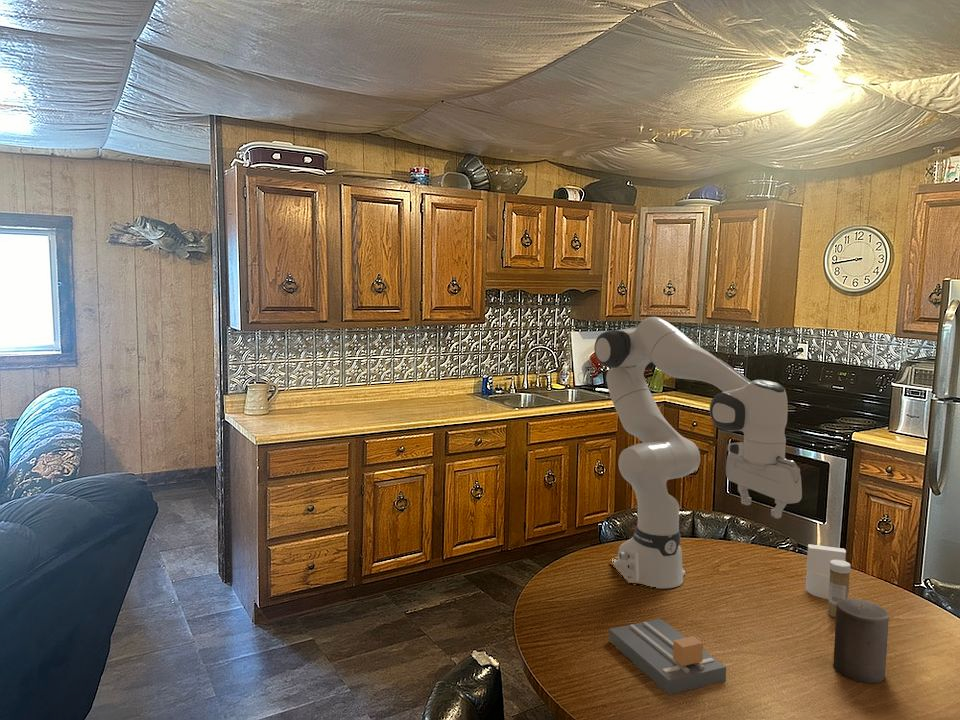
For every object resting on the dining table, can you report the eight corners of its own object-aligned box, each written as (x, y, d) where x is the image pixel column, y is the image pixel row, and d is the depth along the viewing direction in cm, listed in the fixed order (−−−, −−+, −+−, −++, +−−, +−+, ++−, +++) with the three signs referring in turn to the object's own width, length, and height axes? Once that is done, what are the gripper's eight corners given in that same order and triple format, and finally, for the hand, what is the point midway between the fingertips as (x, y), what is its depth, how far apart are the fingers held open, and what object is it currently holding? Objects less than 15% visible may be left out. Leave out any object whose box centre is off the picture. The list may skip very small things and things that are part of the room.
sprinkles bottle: (851, 616, 166) (854, 563, 164) (841, 621, 163) (844, 567, 162) (833, 608, 169) (836, 557, 168) (823, 613, 167) (826, 561, 166)
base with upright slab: (806, 595, 177) (809, 551, 176) (804, 582, 185) (806, 540, 184) (845, 601, 174) (848, 556, 172) (841, 587, 182) (843, 544, 181)
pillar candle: (826, 671, 141) (830, 602, 140) (840, 653, 148) (844, 588, 147) (879, 689, 135) (883, 618, 133) (890, 669, 142) (895, 601, 140)
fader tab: (672, 662, 138) (673, 640, 138) (692, 657, 140) (693, 636, 140) (682, 670, 136) (682, 647, 135) (702, 665, 137) (703, 642, 137)
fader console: (608, 641, 153) (609, 626, 153) (660, 630, 158) (660, 616, 158) (669, 695, 133) (669, 677, 132) (725, 680, 138) (726, 663, 137)
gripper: (811, 462, 145) (807, 524, 146) (743, 441, 164) (740, 496, 165) (788, 464, 142) (784, 527, 144) (722, 443, 161) (719, 498, 163)
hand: (760, 510), depth 155 cm, fingers open, 8 cm apart
